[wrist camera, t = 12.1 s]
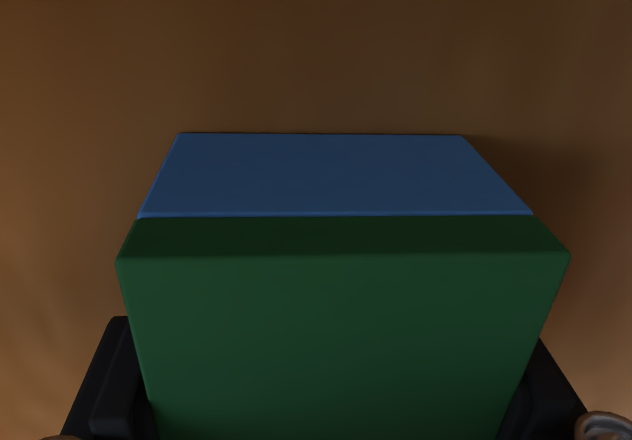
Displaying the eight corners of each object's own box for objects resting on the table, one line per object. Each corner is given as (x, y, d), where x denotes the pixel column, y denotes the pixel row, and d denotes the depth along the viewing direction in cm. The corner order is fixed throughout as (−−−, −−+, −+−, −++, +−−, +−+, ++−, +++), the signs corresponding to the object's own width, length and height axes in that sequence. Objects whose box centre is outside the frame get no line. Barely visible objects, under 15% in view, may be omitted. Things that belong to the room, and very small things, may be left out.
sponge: (463, 133, 9) (577, 254, 6) (405, 396, 13) (450, 555, 10) (176, 131, 8) (109, 261, 5) (212, 404, 13) (189, 574, 9)
